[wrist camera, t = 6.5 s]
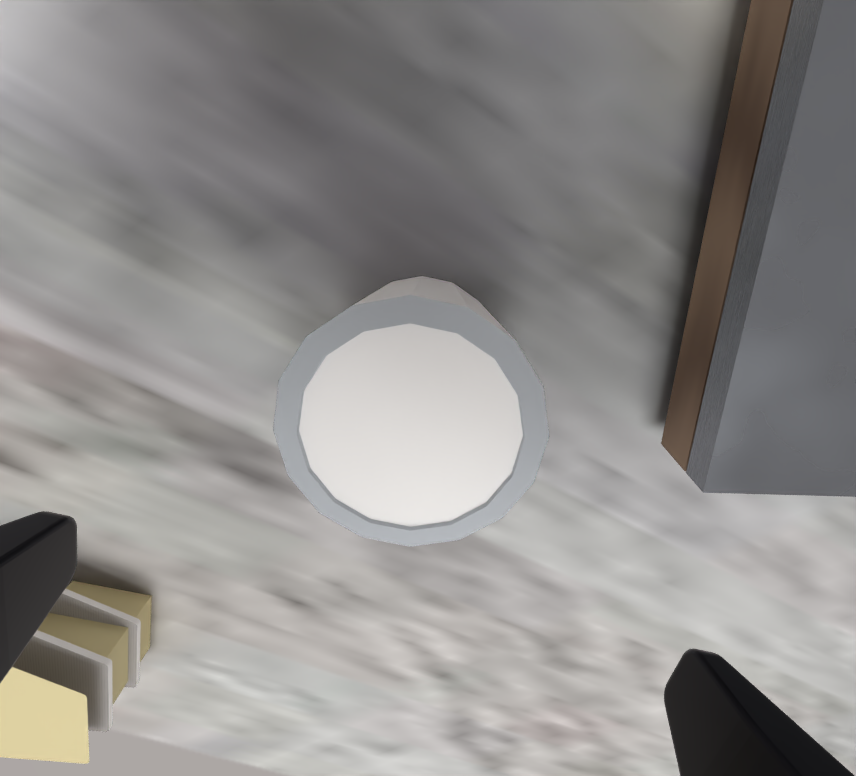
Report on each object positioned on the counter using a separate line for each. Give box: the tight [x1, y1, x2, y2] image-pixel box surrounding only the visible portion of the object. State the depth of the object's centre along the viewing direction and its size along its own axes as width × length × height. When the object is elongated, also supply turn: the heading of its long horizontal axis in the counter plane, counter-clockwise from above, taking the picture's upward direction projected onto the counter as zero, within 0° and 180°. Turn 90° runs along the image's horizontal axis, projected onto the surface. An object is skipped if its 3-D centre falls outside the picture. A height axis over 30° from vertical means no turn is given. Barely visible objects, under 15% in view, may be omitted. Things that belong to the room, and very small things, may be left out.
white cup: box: [273, 276, 549, 547], centre depth 16 cm, size 7×7×7 cm
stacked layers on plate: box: [0, 581, 151, 764], centre depth 22 cm, size 10×9×6 cm
